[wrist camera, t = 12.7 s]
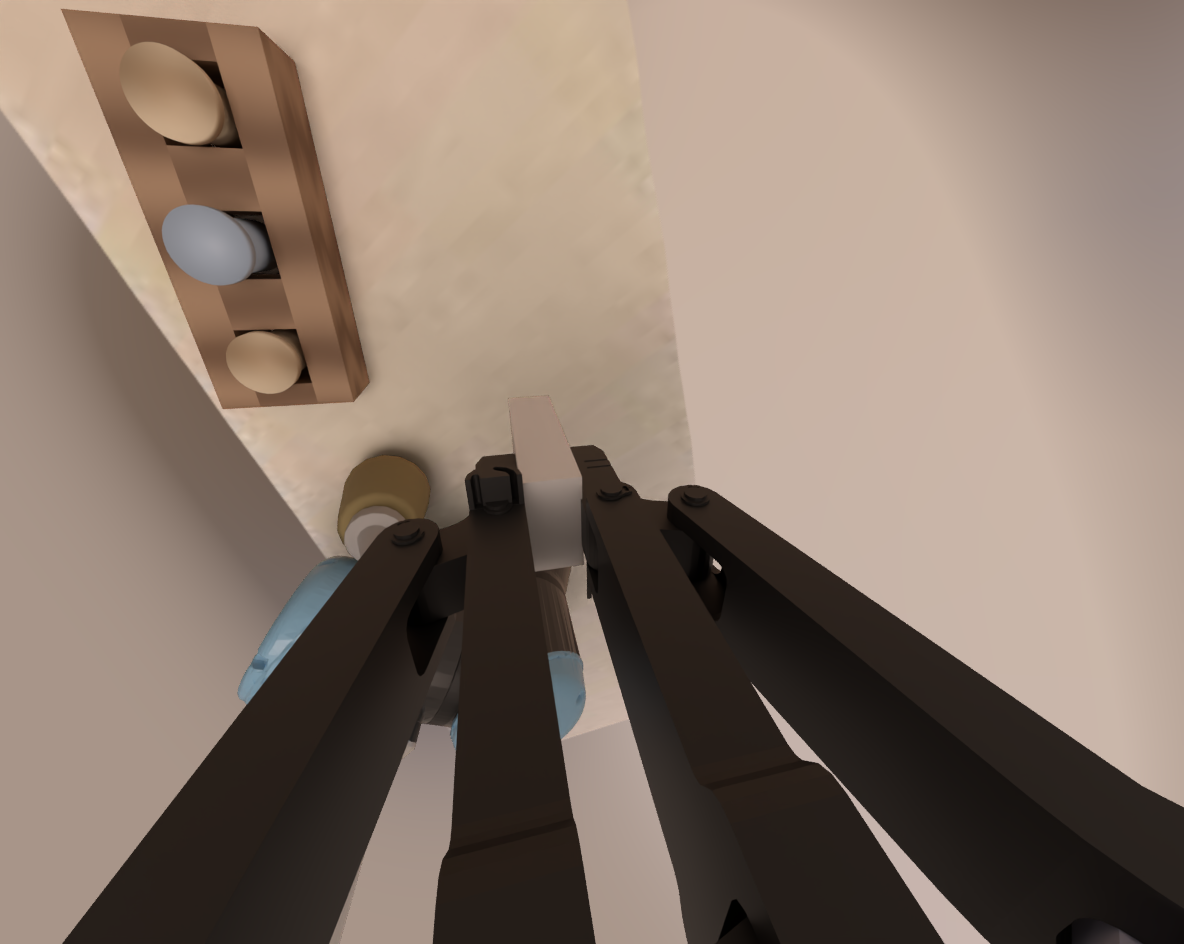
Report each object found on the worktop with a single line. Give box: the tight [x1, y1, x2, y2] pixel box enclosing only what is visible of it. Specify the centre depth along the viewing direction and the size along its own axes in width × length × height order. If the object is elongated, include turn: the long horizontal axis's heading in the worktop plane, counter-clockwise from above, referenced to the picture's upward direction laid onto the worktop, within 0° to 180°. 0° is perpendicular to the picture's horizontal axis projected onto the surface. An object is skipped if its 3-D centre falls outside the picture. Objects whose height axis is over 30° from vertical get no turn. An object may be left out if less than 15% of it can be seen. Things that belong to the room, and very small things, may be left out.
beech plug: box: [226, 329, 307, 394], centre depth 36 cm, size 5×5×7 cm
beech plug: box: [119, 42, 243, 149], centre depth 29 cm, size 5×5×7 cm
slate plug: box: [162, 205, 278, 285], centre depth 31 cm, size 5×5×7 cm
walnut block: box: [61, 9, 369, 409], centre depth 34 cm, size 24×10×6 cm, turn 0°
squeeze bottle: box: [337, 455, 430, 560], centre depth 40 cm, size 8×8×18 cm
